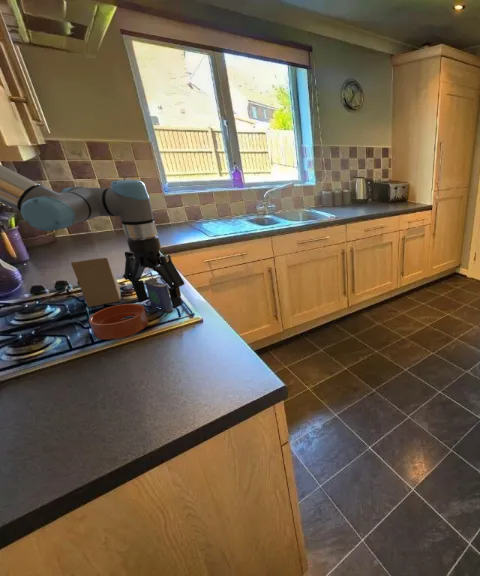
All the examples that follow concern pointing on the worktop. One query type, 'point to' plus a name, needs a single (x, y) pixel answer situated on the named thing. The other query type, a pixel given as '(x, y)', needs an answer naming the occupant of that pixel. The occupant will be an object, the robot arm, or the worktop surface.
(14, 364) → the worktop surface
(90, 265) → the sandwich container
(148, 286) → the flask
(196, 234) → the worktop surface
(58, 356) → the worktop surface
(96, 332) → the bowl
